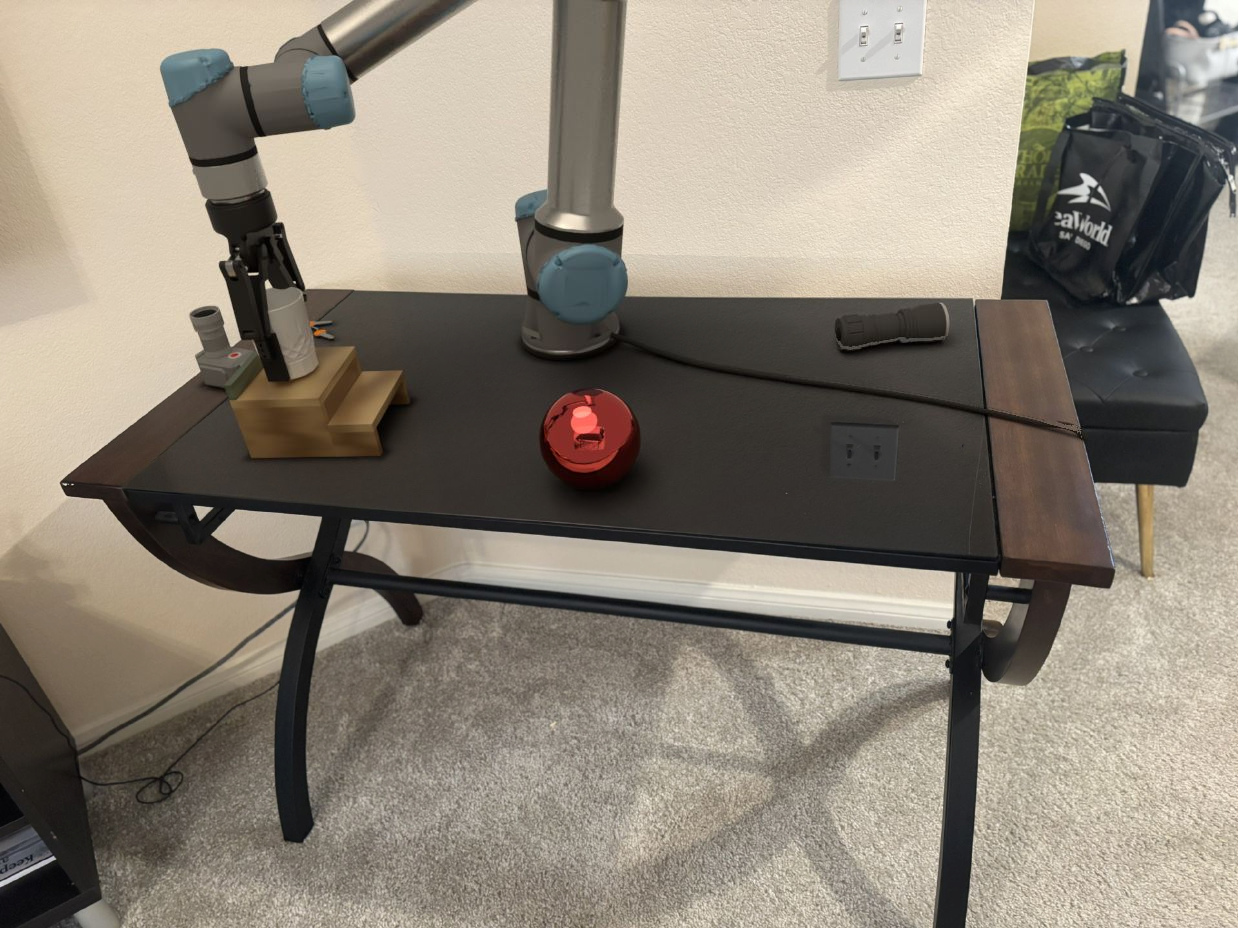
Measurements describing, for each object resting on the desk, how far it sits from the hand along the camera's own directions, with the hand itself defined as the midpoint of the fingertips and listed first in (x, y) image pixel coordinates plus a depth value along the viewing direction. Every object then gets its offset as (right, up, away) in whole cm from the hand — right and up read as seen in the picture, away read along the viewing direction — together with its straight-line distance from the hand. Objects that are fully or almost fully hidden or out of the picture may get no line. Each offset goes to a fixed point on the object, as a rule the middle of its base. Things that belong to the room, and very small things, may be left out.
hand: (291, 364), depth 120 cm
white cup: (0, -1, 0) cm, 1 cm away
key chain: (-9, +9, +32) cm, 34 cm away
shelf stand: (+4, -8, +5) cm, 11 cm away
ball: (+40, -15, -10) cm, 44 cm away
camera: (-13, -1, +18) cm, 22 cm away
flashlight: (+83, +4, +12) cm, 84 cm away
